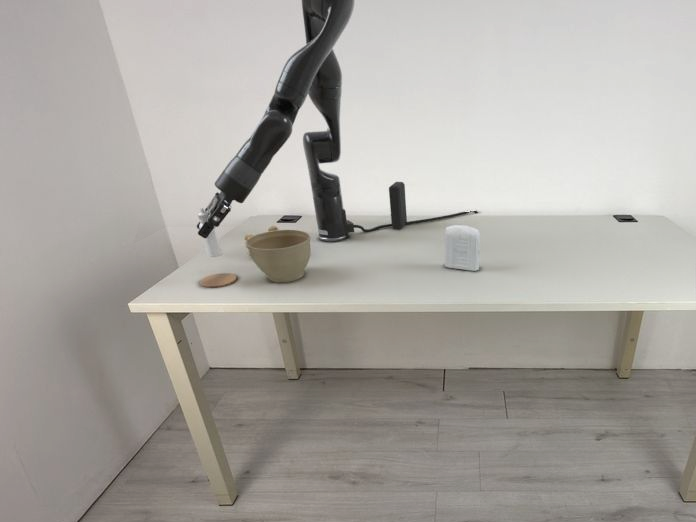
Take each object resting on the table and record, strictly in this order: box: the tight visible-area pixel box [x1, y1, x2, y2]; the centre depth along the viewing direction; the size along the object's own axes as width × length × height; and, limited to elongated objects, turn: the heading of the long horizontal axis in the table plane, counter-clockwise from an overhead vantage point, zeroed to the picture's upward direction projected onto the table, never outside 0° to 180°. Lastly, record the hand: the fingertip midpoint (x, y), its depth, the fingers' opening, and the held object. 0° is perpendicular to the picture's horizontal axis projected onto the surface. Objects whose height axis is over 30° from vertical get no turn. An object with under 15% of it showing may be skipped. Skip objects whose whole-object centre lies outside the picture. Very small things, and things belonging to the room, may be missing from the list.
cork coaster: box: [199, 273, 237, 289], centre depth 128 cm, size 9×9×1 cm
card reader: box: [388, 181, 408, 230], centre depth 169 cm, size 9×4×15 cm, turn 172°
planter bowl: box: [245, 229, 312, 283], centre depth 128 cm, size 16×16×11 cm
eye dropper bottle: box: [197, 207, 223, 258], centre depth 121 cm, size 4×6×12 cm
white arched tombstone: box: [444, 224, 481, 272], centre depth 134 cm, size 10×4×12 cm, turn 72°
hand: (200, 232), depth 120 cm, fingers closed on eye dropper bottle, 5 cm apart
